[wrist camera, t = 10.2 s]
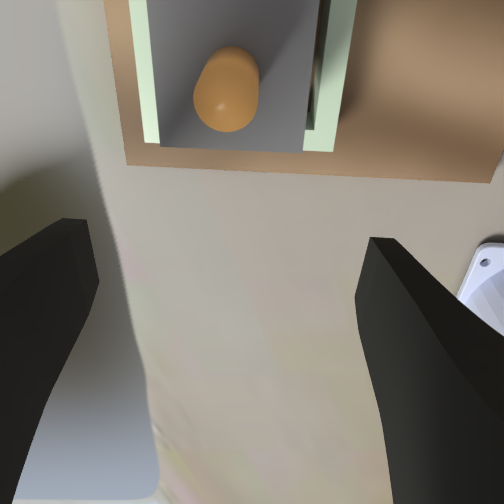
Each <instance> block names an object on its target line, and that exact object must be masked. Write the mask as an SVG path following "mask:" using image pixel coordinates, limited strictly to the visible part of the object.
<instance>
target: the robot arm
mask: <svg viewBox="0 0 504 504" xmlns="http://www.w3.org/2000/svg"><path fill="white" fill-rule="evenodd" d="M483 259H486V260H485V261H484V262H481V261H482V260H483ZM98 284H99V278H98V273H97V268H96V263H95V258H94V254H93V249H92V244H91V239H90V235H89V230H88V225H87V220H84V219H67V218H62V219H60V220H58V221H56V222H54V223H53V224H51V225H49V226H48V227H46V228H45V229H43V230H41V231H40V232H38V233H36V234H35V235H33V236H31V237H30V238H28V239H27V240H25V241H24V242H22V243H20V244H19V245H17V246H16V247H14V248H12V249H11V250H9V251H8V252H6V253H4V254H3V255H1V256H0V504H12V501H13V497H14V495H15V491H16V488H17V485H18V482H19V479H20V476H21V472H22V470H23V467H24V464H25V461H26V458H27V455H28V452H29V449H30V446H31V443H32V440H33V437H34V435H35V432H36V429H37V426H38V424H39V421H40V418H41V416H42V413H43V410H44V407H45V405H46V402H47V400H48V398H49V396H50V393H51V391H52V389H53V386H54V384H55V383H56V381H57V379H58V377H59V374H60V372H61V370H62V368H63V366H64V364H65V362H66V360H67V358H68V356H69V354H70V352H71V350H72V348H73V346H74V344H75V342H76V340H77V338H78V336H79V334H80V332H81V330H82V328H83V326H84V323H85V321H86V319H87V317H88V315H89V312H90V309H91V306H92V303H93V300H94V297H95V294H96V291H97V287H98ZM355 306H356V315H357V323H358V330H359V335H360V339H361V343H362V347H363V351H364V354H365V358H366V362H367V366H368V370H369V374H370V377H371V381H372V385H373V389H374V392H375V396H376V400H377V404H378V408H379V412H380V417H381V422H382V427H383V433H384V440H385V446H386V453H387V459H388V466H389V473H390V481H391V488H392V496H393V503H394V504H504V243H485V244H482V245H481V246H479V247H478V248H477V250H476V252H475V254H474V257H473V259H472V261H471V264H470V266H469V268H468V271H467V273H466V275H465V278H464V280H463V282H462V284H461V287H460V289H459V291H458V294H457V296H456V297H455V296H454V295H453V294H451V293H450V292H449V291H448V290H447V289H446V288H445V287H444V286H443V285H442V284H441V283H440V282H439V281H437V280H436V279H435V278H434V277H433V276H432V275H431V274H430V273H429V272H428V271H427V270H426V269H425V268H424V267H423V266H422V265H421V264H420V263H419V262H418V261H417V260H416V259H415V258H414V257H413V256H412V255H411V254H410V253H409V252H408V251H407V250H406V249H405V248H404V247H403V246H402V245H401V244H400V243H399V242H398V241H396V240H395V239H394V238H379V237H370V239H369V243H368V247H367V251H366V254H365V258H364V262H363V266H362V270H361V274H360V278H359V282H358V286H357V289H356V293H355Z"/></svg>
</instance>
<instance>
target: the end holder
mask: <svg viewBox="0 0 504 504" xmlns="http://www.w3.org/2000/svg"><path fill="white" fill-rule="evenodd" d="M356 5H357V0H324V1H323V9H322V17H321V26H320V34H319V42H318V51H317V59H316V67H315V76H314V84H313V92H312V101H311V109H310V112H307V118H306V126H305V135H304V144H303V151H323V152H333V148H334V142H335V136H336V129H337V123H338V117H339V111H340V105H341V98H342V92H343V86H344V80H345V73H346V67H347V61H348V55H349V48H350V42H351V36H352V30H353V23H354V17H355V11H356ZM129 8H130V17H131V26H132V35H133V44H134V53H135V61H136V70H137V79H138V88H139V97H140V106H141V114H142V123H143V132H144V141H145V143H160V140H159V129H158V119H157V108H156V98H155V87H154V77H153V66H152V56H151V45H150V34H149V24H148V13H147V3H146V0H129Z"/></svg>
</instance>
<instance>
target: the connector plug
mask: <svg viewBox="0 0 504 504" xmlns="http://www.w3.org/2000/svg"><path fill="white" fill-rule="evenodd" d="M319 2H320V0H146V3H147V13H148V24H149V34H150V45H151V56H152V66H153V77H154V87H155V98H156V108H157V119H158V129H159V140H160V147H175V148H196V149H218V150H239V151H261V152H282V153H303V144H304V135H305V126H306V118H307V109H308V100H309V91H310V82H311V73H312V64H313V55H314V46H315V37H316V29H317V20H318V11H319Z"/></svg>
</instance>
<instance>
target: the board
mask: <svg viewBox="0 0 504 504" xmlns="http://www.w3.org/2000/svg"><path fill="white" fill-rule="evenodd" d="M103 1H104V8H105V15H106V22H107V29H108V36H109V43H110V50H111V57H112V64H113V71H114V78H115V85H116V92H117V99H118V106H119V113H120V120H121V127H122V134H123V141H124V148H125V155H126V162H127V165H134V166H153V167H173V168H193V169H213V170H233V171H253V172H273V173H293V174H313V175H333V176H353V177H373V178H393V179H413V180H433V181H453V182H473V183H490V182H491V180H492V177H493V175H494V172H495V170H496V167H497V165H498V162H499V160H500V158H501V155H502V153H503V150H504V0H357V5H356V11H355V17H354V23H353V30H352V36H351V42H350V48H349V55H348V61H347V67H346V73H345V80H344V86H343V92H342V98H341V105H340V111H339V117H338V123H337V129H336V136H335V142H334V148H333V152H323V151H303V153H282V152H261V151H239V150H218V149H196V148H175V147H160V143H145V141H144V132H143V123H142V114H141V106H140V97H139V88H138V79H137V70H136V61H135V53H134V44H133V35H132V26H131V17H130V8H129V0H103ZM323 1H324V0H320V2H319V11H318V20H317V29H316V37H315V46H314V55H313V64H312V73H311V82H310V91H309V100H308V109H307V112H310V109H311V101H312V92H313V84H314V76H315V67H316V59H317V51H318V42H319V34H320V26H321V17H322V9H323Z"/></svg>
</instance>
